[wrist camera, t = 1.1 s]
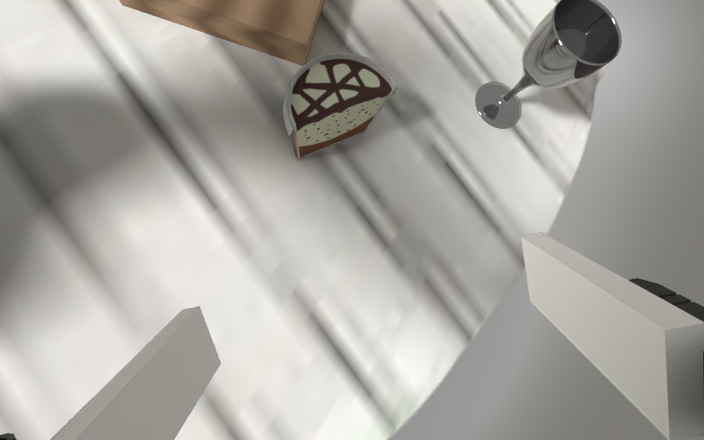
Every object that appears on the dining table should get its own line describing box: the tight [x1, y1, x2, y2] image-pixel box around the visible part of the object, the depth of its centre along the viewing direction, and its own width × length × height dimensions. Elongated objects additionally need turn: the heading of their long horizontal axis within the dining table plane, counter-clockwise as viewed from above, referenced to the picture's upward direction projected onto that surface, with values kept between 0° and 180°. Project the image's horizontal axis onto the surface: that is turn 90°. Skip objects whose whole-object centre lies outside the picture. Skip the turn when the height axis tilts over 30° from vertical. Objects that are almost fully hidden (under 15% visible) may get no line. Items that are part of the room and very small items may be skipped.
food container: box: [283, 52, 397, 160], centre depth 39 cm, size 12×6×10 cm, turn 118°
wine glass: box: [475, 0, 622, 129], centre depth 43 cm, size 8×8×15 cm
